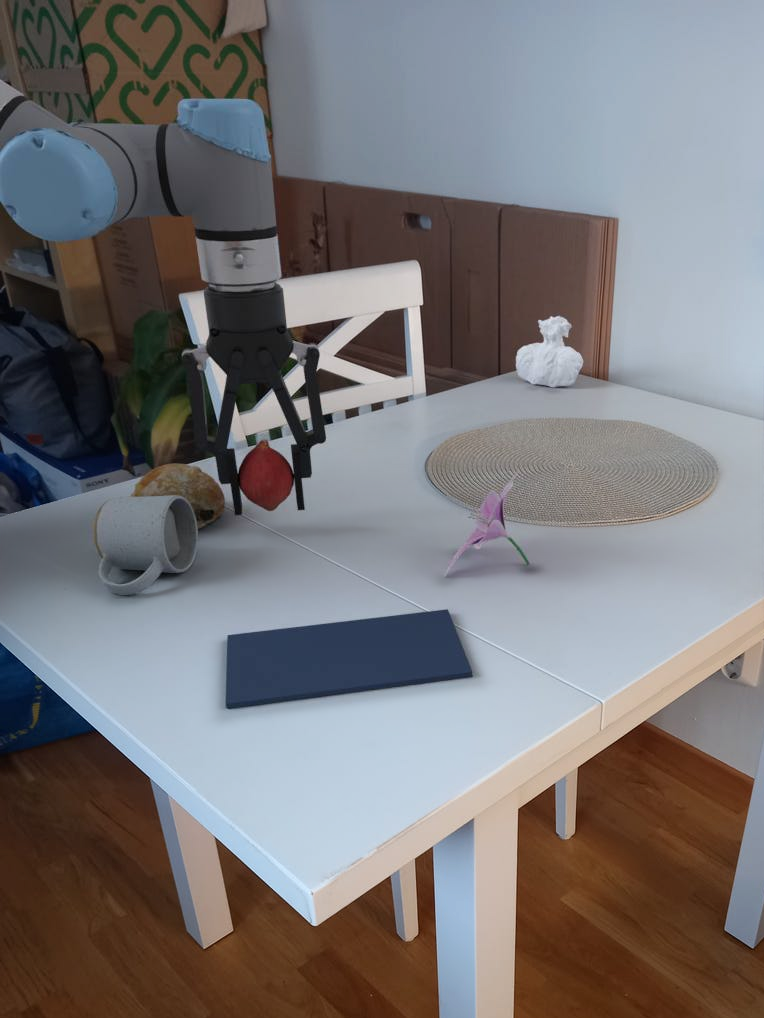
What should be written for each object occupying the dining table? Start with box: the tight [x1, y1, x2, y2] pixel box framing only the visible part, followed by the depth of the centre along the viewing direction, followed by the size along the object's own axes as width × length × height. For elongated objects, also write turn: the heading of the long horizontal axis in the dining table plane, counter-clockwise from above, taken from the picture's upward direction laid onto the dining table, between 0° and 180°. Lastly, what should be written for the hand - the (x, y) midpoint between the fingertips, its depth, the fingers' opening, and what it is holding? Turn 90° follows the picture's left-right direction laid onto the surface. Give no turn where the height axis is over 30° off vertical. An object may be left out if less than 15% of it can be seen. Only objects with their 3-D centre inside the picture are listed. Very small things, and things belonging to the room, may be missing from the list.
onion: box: [237, 438, 295, 512], centre depth 99 cm, size 6×6×8 cm
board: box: [225, 608, 474, 709], centre depth 80 cm, size 20×11×1 cm, turn 102°
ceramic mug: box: [92, 495, 199, 596], centre depth 92 cm, size 11×8×8 cm
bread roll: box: [129, 462, 226, 530], centre depth 105 cm, size 10×10×8 cm
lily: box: [444, 469, 531, 577], centre depth 93 cm, size 12×12×10 cm
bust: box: [515, 315, 584, 388], centre depth 150 cm, size 12×8×11 cm
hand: (269, 507), depth 101 cm, fingers closed on onion, 6 cm apart
